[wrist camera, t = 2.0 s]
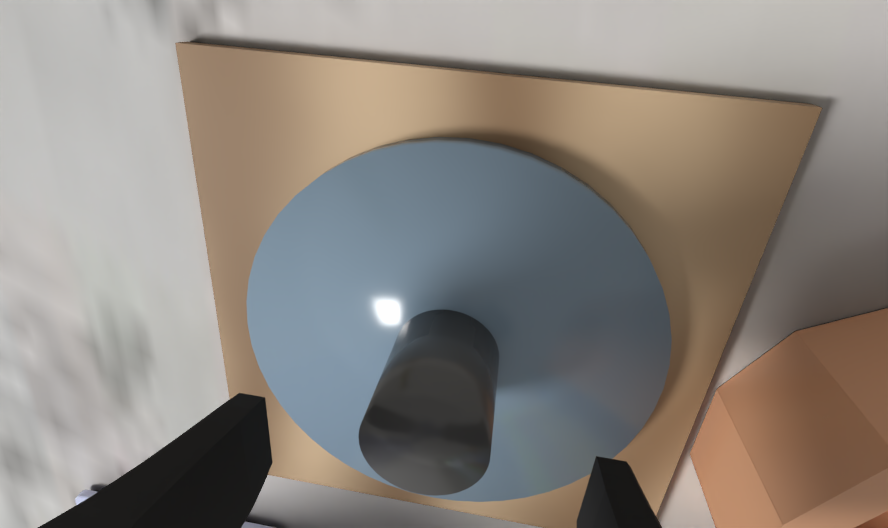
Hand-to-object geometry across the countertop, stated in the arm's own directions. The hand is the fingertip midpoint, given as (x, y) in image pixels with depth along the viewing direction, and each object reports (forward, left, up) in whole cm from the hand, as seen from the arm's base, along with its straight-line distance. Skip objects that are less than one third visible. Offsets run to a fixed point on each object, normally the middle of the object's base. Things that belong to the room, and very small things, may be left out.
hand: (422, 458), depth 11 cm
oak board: (0, 0, -5) cm, 5 cm away
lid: (0, 0, -5) cm, 5 cm away
